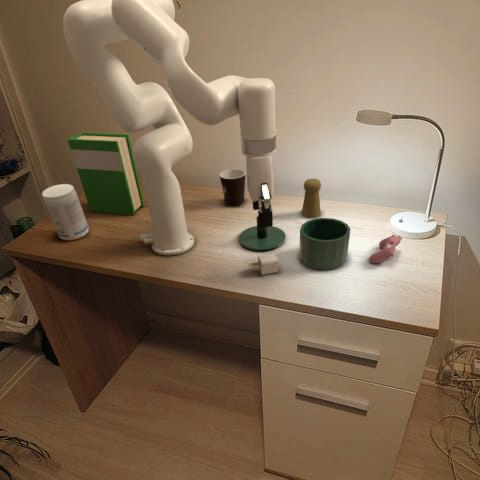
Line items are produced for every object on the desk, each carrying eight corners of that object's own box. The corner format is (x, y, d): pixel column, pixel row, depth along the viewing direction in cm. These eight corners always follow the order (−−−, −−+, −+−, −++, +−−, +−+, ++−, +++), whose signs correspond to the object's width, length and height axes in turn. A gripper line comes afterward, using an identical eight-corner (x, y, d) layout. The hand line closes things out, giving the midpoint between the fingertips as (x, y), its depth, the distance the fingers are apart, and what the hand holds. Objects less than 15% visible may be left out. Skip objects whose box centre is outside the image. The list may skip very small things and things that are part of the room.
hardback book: (144, 205, 145) (128, 134, 130) (134, 215, 140) (115, 141, 125) (102, 201, 150) (81, 132, 135) (90, 210, 145) (67, 139, 130)
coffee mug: (247, 207, 139) (245, 178, 133) (221, 208, 140) (218, 179, 133) (247, 192, 148) (245, 164, 142) (223, 194, 148) (220, 166, 142)
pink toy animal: (380, 271, 108) (397, 253, 103) (366, 260, 109) (382, 242, 104) (391, 253, 115) (408, 235, 109) (378, 243, 115) (393, 225, 110)
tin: (305, 272, 108) (306, 244, 102) (295, 248, 117) (295, 220, 112) (353, 267, 108) (356, 238, 103) (339, 243, 118) (341, 215, 112)
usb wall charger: (278, 273, 108) (278, 259, 106) (252, 277, 107) (251, 264, 105) (274, 265, 111) (273, 252, 109) (248, 269, 110) (248, 256, 108)
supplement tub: (88, 224, 137) (73, 181, 128) (90, 237, 130) (75, 192, 121) (58, 231, 135) (41, 187, 125) (58, 244, 128) (41, 199, 118)
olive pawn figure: (320, 218, 130) (322, 184, 123) (300, 217, 131) (301, 184, 124) (321, 209, 134) (323, 176, 127) (302, 209, 135) (303, 176, 128)
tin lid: (241, 254, 116) (240, 231, 112) (236, 231, 127) (235, 209, 122) (289, 249, 117) (290, 225, 112) (280, 226, 127) (280, 204, 123)
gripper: (237, 135, 96) (242, 204, 107) (247, 159, 83) (252, 236, 94) (269, 131, 96) (271, 201, 107) (283, 155, 83) (285, 232, 94)
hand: (262, 217), depth 101 cm, fingers open, 9 cm apart
